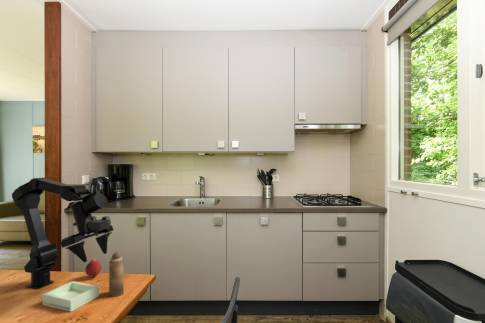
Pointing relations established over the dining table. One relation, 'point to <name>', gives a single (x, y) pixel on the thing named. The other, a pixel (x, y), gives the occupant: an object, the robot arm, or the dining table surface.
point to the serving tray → (70, 296)
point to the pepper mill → (116, 275)
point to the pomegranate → (93, 268)
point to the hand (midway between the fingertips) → (95, 257)
